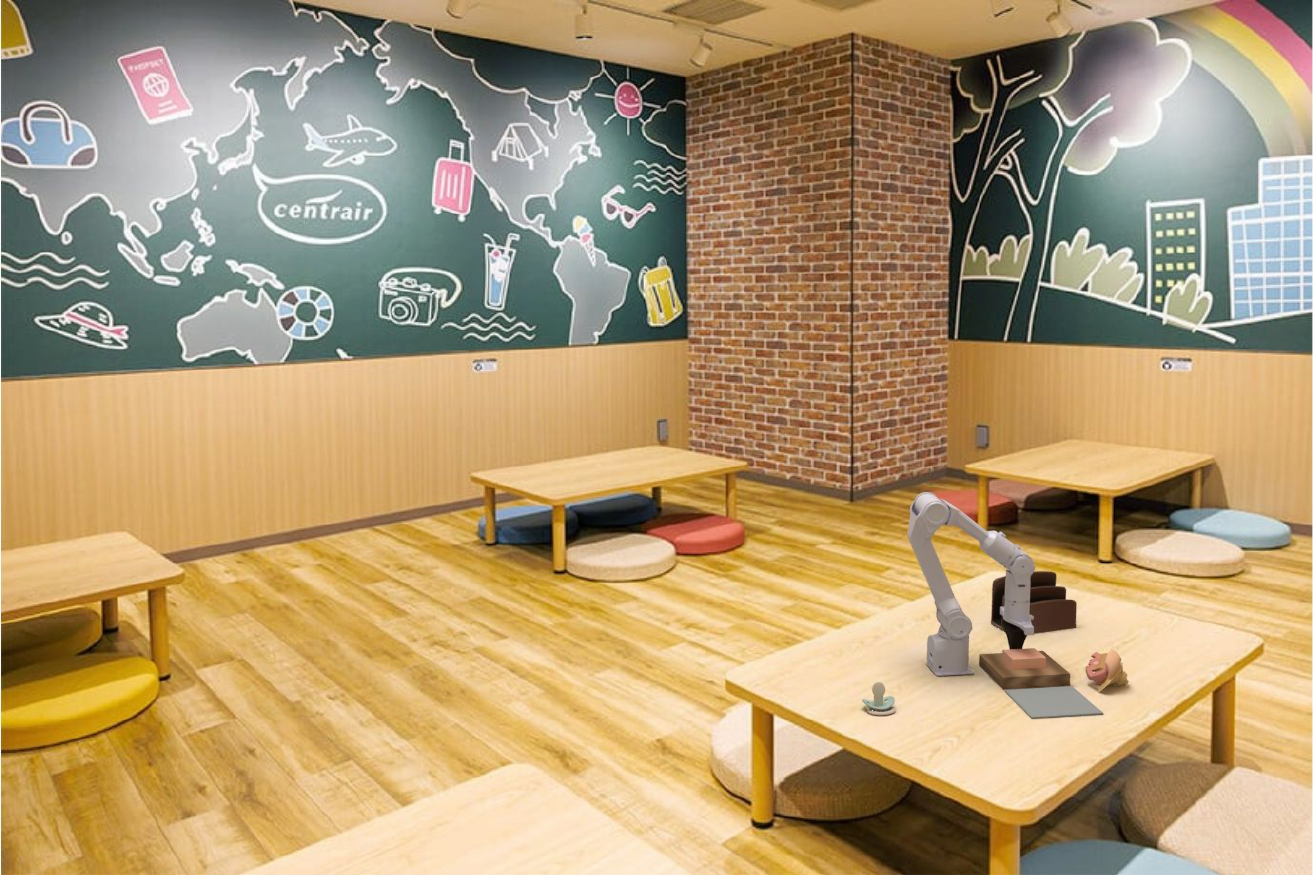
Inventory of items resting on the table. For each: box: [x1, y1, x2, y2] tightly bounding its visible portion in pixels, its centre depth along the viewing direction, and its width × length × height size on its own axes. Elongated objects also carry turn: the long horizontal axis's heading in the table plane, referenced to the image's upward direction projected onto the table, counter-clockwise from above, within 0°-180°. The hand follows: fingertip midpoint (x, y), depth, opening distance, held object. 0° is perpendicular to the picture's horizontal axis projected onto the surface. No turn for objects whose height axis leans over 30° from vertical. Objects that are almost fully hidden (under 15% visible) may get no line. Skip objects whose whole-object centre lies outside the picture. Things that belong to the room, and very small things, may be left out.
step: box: [978, 650, 1071, 691], centre depth 233 cm, size 16×14×3 cm
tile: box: [1001, 647, 1046, 670], centre depth 232 cm, size 8×6×2 cm
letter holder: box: [990, 570, 1078, 635], centre depth 263 cm, size 10×20×14 cm, turn 105°
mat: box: [1004, 685, 1104, 720], centre depth 218 cm, size 16×14×1 cm
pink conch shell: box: [1085, 648, 1130, 693], centre depth 225 cm, size 9×10×10 cm
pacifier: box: [861, 681, 897, 716], centre depth 217 cm, size 7×6×6 cm
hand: (1015, 652), depth 237 cm, fingers closed
